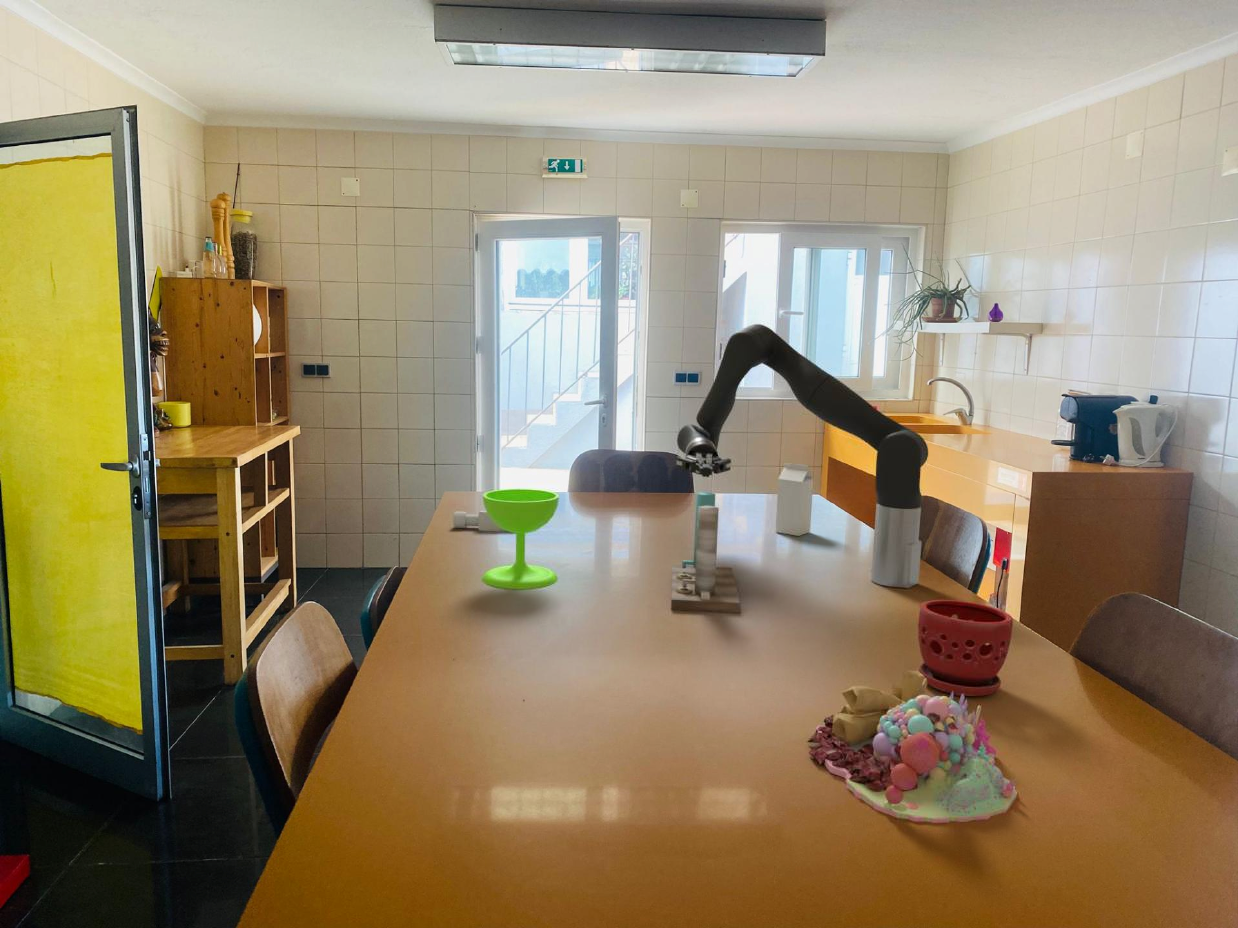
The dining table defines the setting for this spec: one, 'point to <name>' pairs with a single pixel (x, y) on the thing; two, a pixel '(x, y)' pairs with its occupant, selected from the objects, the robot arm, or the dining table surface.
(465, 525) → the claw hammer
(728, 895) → the dining table surface
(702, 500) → the teal lever handle
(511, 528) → the wineglass
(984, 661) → the plant pot
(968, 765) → the pastel sphere sculpture
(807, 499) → the milk carton
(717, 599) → the gauge board
